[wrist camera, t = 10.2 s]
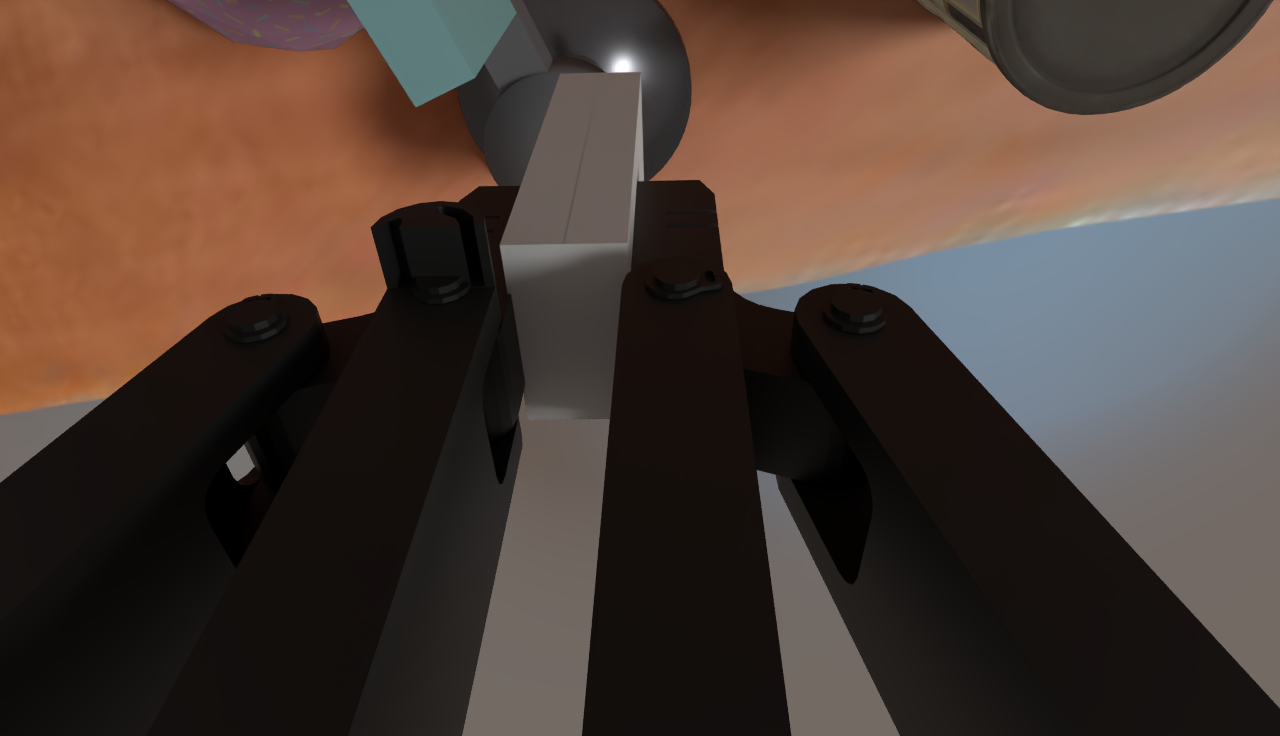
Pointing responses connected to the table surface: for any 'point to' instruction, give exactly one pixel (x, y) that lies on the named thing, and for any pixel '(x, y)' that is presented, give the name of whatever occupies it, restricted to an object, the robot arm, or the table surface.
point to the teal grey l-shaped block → (474, 65)
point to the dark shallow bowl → (609, 64)
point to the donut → (278, 21)
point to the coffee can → (1100, 45)
